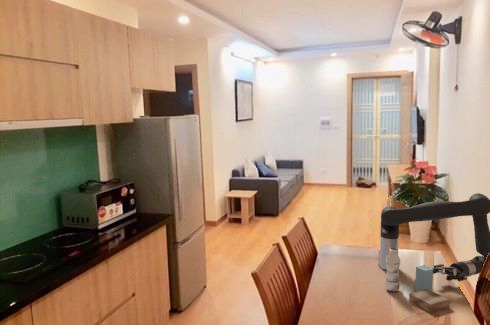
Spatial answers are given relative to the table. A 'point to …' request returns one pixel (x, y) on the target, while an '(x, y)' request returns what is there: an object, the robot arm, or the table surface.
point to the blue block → (423, 278)
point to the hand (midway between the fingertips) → (439, 274)
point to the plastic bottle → (392, 270)
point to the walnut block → (429, 300)
